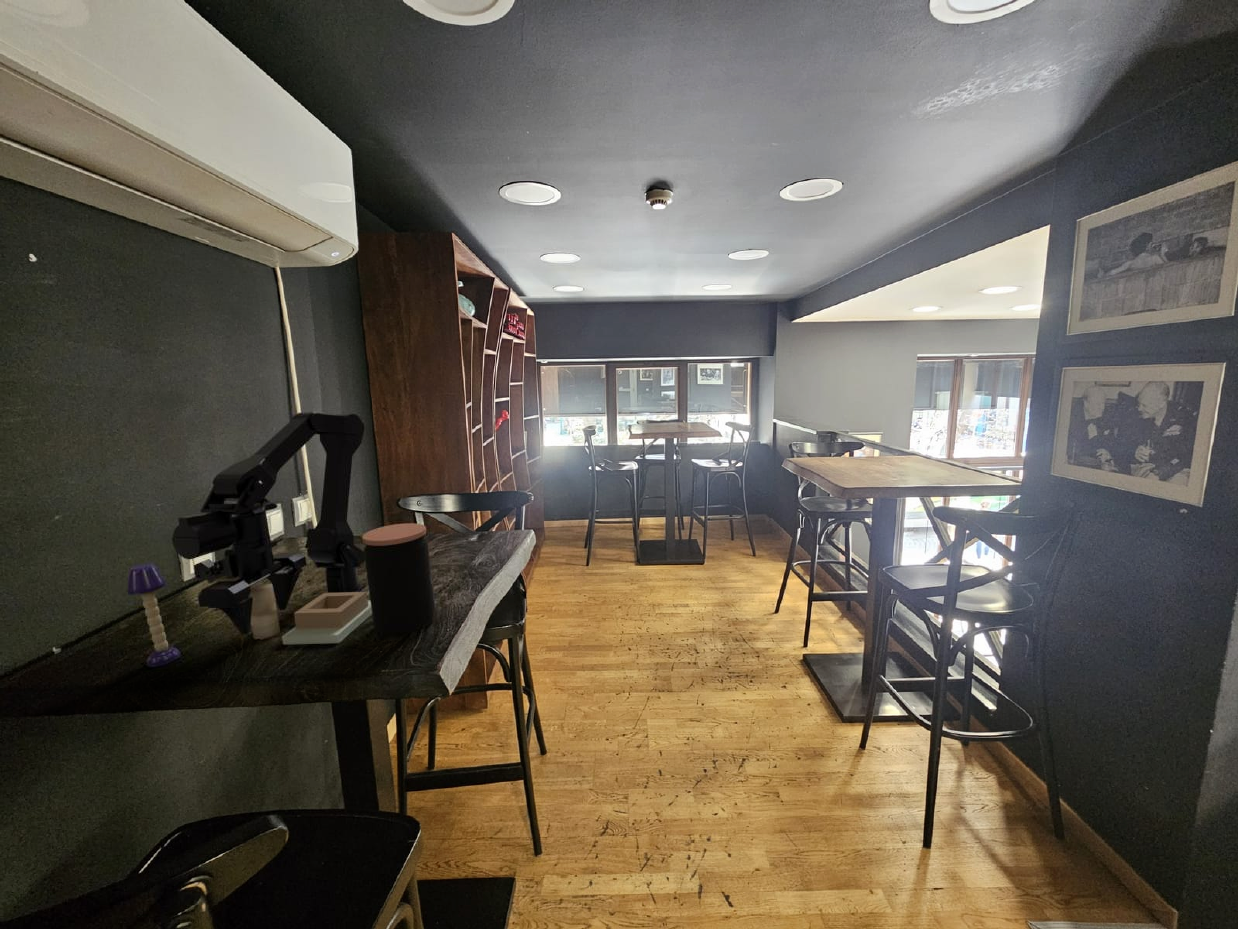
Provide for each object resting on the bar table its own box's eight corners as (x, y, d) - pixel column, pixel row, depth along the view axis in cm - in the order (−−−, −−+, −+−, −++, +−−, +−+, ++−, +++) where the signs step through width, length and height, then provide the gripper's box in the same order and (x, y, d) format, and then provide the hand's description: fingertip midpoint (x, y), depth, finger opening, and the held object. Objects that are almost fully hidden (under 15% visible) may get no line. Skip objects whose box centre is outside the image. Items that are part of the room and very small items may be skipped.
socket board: (331, 608, 100) (328, 587, 99) (379, 607, 99) (377, 586, 99) (283, 644, 86) (279, 620, 85) (338, 643, 86) (335, 619, 85)
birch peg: (264, 628, 92) (256, 583, 91) (285, 628, 92) (277, 583, 91) (247, 639, 88) (239, 592, 87) (269, 639, 88) (261, 592, 87)
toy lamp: (136, 670, 80) (114, 573, 77) (154, 655, 84) (134, 563, 82) (172, 664, 81) (151, 568, 78) (187, 650, 86) (169, 559, 83)
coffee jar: (448, 617, 94) (438, 526, 91) (398, 644, 84) (386, 544, 82) (412, 606, 99) (401, 520, 96) (362, 630, 90) (348, 536, 87)
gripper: (247, 525, 97) (260, 600, 99) (156, 559, 78) (175, 649, 81) (302, 524, 96) (313, 598, 99) (224, 557, 78) (241, 647, 80)
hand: (264, 621), depth 90 cm, fingers open, 9 cm apart
